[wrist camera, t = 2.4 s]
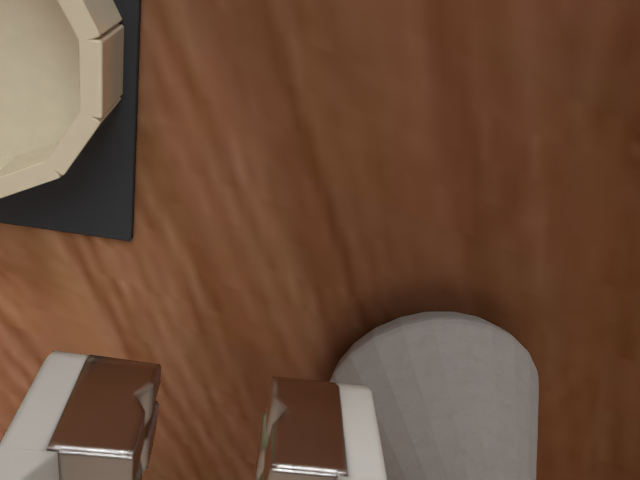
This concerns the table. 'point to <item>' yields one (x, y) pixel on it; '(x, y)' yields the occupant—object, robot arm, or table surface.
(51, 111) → the bowl
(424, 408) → the coffee pot
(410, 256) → the table surface
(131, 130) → the desk mat
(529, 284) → the table surface
